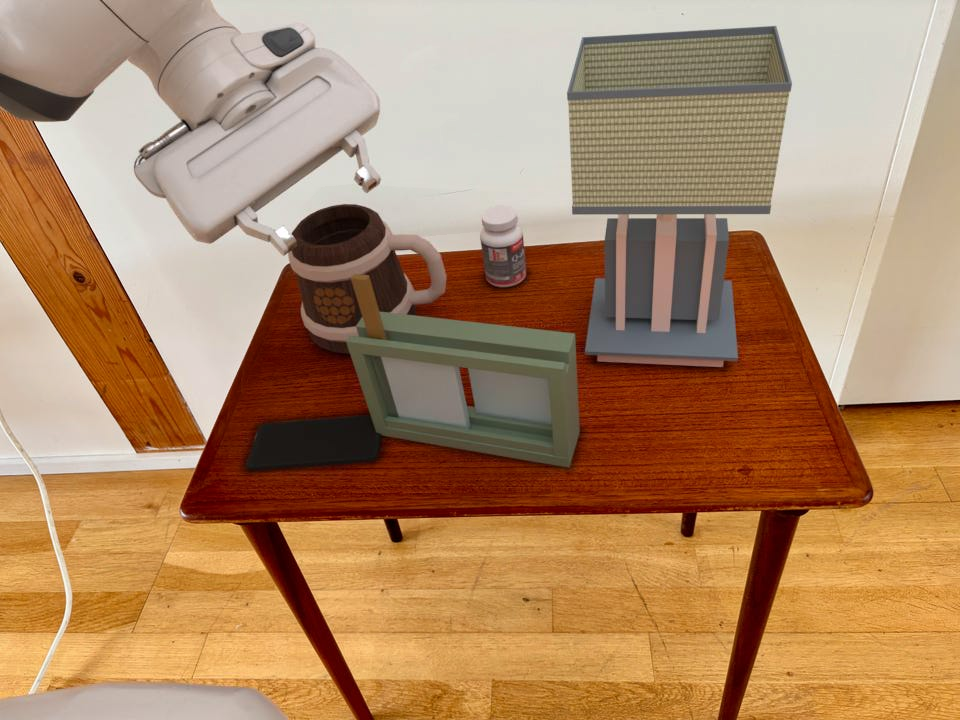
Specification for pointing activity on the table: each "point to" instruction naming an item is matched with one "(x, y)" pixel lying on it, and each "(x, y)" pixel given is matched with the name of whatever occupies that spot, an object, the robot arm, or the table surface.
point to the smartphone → (314, 443)
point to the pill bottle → (502, 246)
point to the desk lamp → (673, 180)
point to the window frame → (483, 385)
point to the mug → (355, 271)
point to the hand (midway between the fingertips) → (333, 217)
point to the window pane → (412, 375)
